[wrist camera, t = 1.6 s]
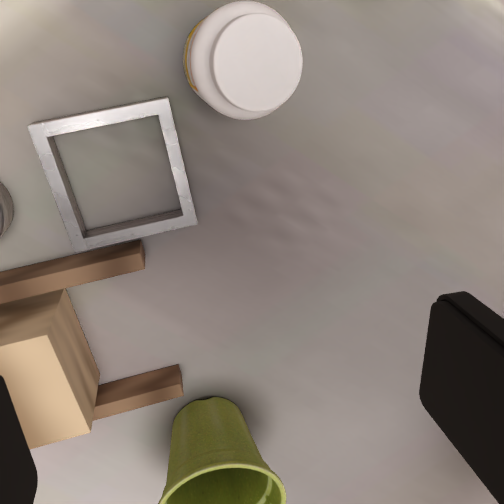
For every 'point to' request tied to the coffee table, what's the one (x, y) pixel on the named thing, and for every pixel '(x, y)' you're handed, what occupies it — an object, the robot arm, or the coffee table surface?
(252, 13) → the supplement bottle
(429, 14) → the coffee table surface
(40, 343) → the bay
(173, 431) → the plant pot
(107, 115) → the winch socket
